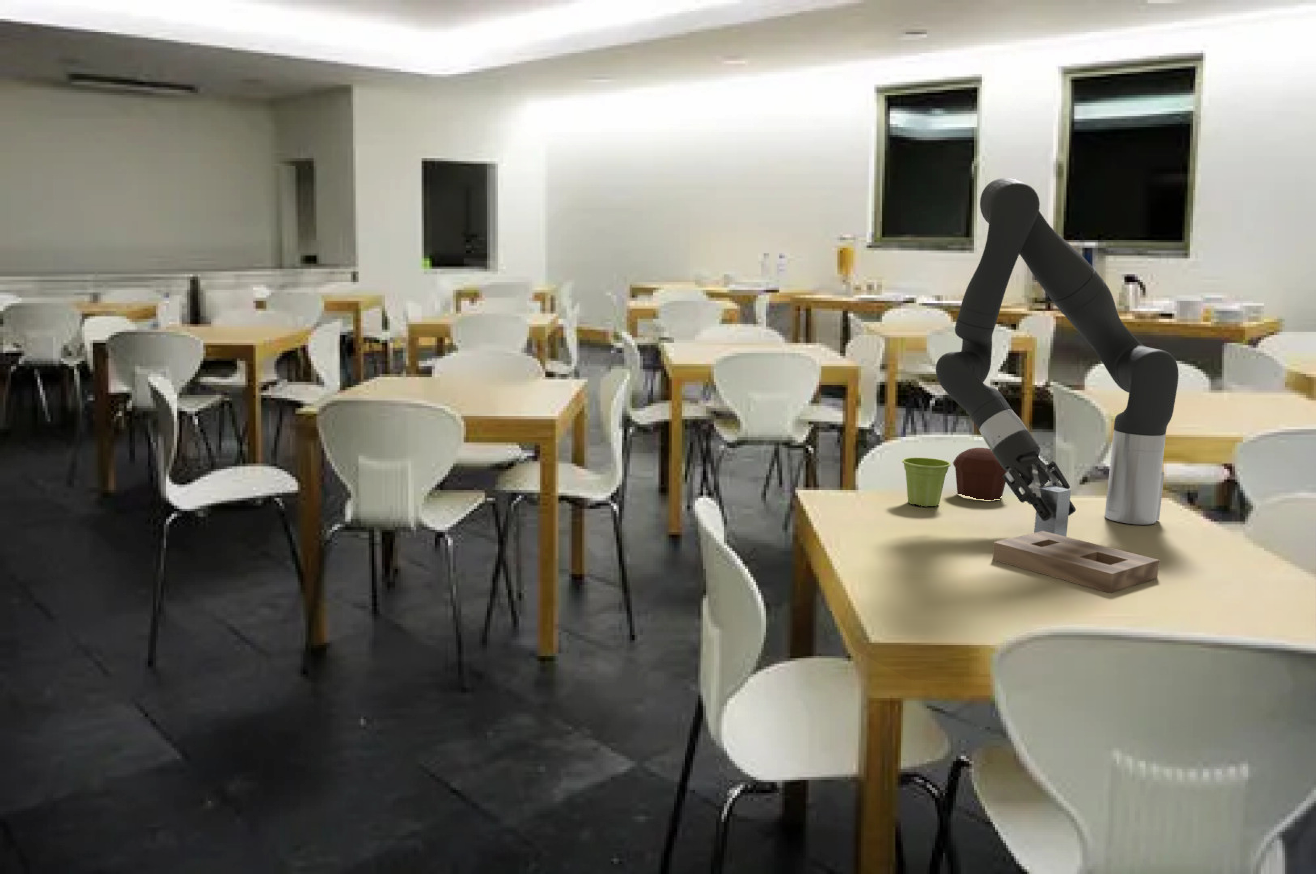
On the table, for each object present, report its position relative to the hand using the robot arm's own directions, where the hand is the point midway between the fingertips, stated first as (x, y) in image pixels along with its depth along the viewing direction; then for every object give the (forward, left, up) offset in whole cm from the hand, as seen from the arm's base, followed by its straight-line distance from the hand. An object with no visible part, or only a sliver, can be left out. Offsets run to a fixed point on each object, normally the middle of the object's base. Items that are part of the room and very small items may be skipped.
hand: (1060, 515), depth 203 cm
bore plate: (+12, +14, -4) cm, 19 cm away
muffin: (-12, -32, -5) cm, 34 cm away
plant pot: (+4, -31, -5) cm, 31 cm away
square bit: (0, -2, -4) cm, 5 cm away
